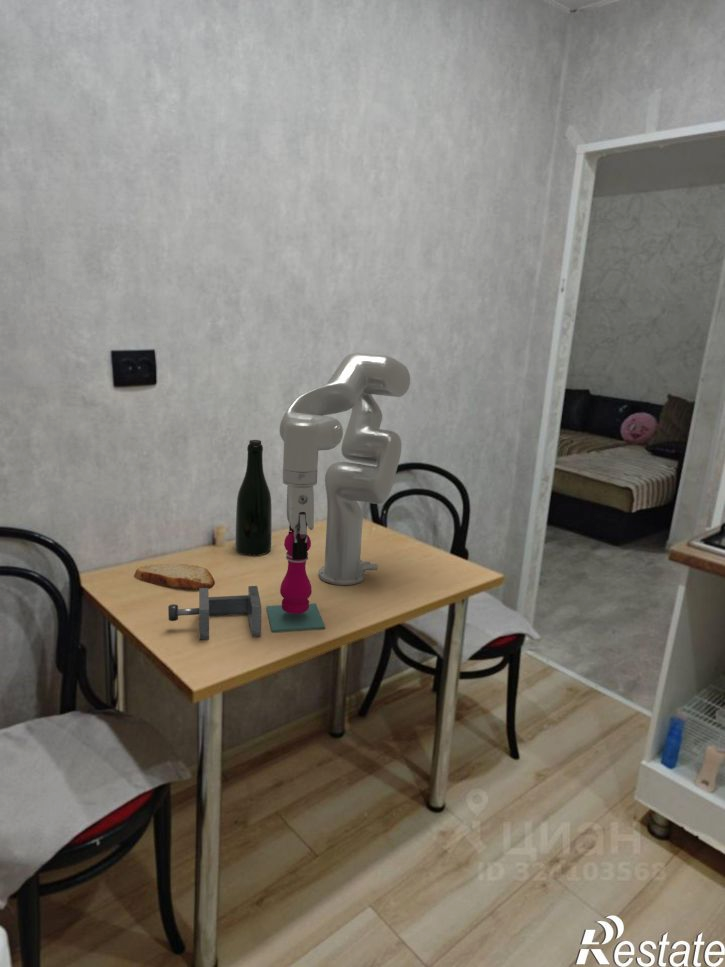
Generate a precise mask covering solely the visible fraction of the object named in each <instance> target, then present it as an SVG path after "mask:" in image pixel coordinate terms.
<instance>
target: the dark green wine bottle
mask: <svg viewBox="0 0 725 967" xmlns="http://www.w3.org/2000/svg"><path fill="white" fill-rule="evenodd" d="M248 443H249V444H247V446H246V447H247V448H246V449H247V459H246V469H245V474H244V477H243V478H242V479H243V480H242V483H241V485H240V487H239V490H238V493H237V499H236V511H235V512H236V513H235V537H234V538H235V544H234V545H235V550H236V551H237V552H238V553H240V554H242V555H245V556H261V555H264V554H267V553H269V552H270V550H271V549H272V537H273V536H272V531H273V530H272V526H273V525H272V523H273V522H272V520H273V519H272V516H273V515H272V511H273V510H272V507H273V506H272V494H271V491H270V488H269V484H268V482H267V479H266V477H265V473H264V464H263V463H264V462H263V459H264V458H263V451H264V447H263V444H262V440H259V439H250V440H249V442H248Z"/></svg>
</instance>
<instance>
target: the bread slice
mask: <svg viewBox="0 0 725 967" xmlns="http://www.w3.org/2000/svg"><path fill="white" fill-rule="evenodd" d="M134 577H135V578H134ZM133 578H134V579H136V578H137V579H138V580H140V581H142V582H146V583H149V584H153V585H158V586H160V587H161V586H162V587H167V588H173V589H181V590H192V591H199V588H208V590H210V589H212V588H213V587H214V585H215V584H216V583H215V579H214V577H213V575H212V573H211V572H210V571H209V569H207V568H204V567H201V566H199V565H193V564H185V563H178V564H174V563H173V564H171V563H169V564H168V563H166V564H165V563H164V564H160V563H159V564H151V565H144V566H141V567H138V568H137V569H136V570H135V572H134V575H133Z"/></svg>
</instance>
